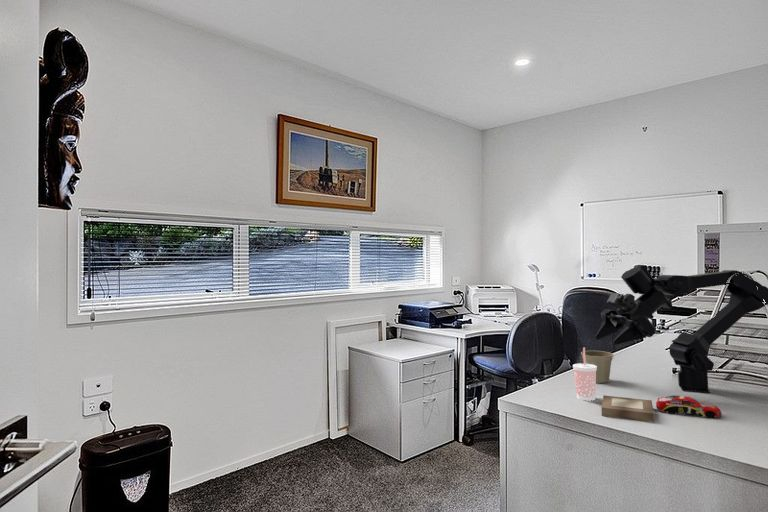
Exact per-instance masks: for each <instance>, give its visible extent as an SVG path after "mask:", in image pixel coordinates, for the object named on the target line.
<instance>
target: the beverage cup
mask: <svg viewBox="0 0 768 512" xmlns="http://www.w3.org/2000/svg"><path fill="white" fill-rule="evenodd" d="M585 351H586V347H585V346H584V347H582V352H583V356H582V359H583V358H584V359H583V363H580V362H579V363H574V364H572V368H573V373H574V382H575V383H574V384H575V391H576V399H577V400H579V399H581V400H580V401H583V400H586V401H585V402H593V400H594V401H595V400H596V384H597V383H596V370H597V366H596V365H592V364H586V361H585ZM591 400H592V401H591Z"/></svg>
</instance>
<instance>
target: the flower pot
mask: <svg viewBox="0 0 768 512" xmlns="http://www.w3.org/2000/svg"><path fill="white" fill-rule="evenodd" d="M580 354H581V356H582V359H583V360H584V358H583V351H581V352H580ZM614 356H615V354H614V353H612V352H609V351H602V350H585V361H586V364H592V365H596V366H597V370H596V384H605V383H609V382H610V374H611V366H612V361H613V357H614Z"/></svg>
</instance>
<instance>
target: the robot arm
mask: <svg viewBox="0 0 768 512" xmlns="http://www.w3.org/2000/svg"><path fill="white" fill-rule="evenodd" d="M735 273H739V275H737V276H734V277H733V278H732V279H731V280H730V283H726V282H727V280H728V278H729V277H730V276H731V275H733V274H735ZM621 279H622V280H623V281H624V283H625V284H626V285H627V287H628V288H629V289H630V291H631V292H632V293H633V294H635V295H636V294H638V295H639V297H637V298H636V296H635V295H633V294H631V293H625V294H622V293H619V292H611V294H610V295H609V297H608V299H607V300H606V303H607V304H609V305H612V306H613V307H615V308H616V310H614V309H606V308H605V309H603V310H602V311H601V312H600V316H601V319H602V322H601V324H600V327H599V329H598V330H597V332H596V333H595V335H594V338H595V339H596V340H601V339H603V338H605V337H608V336H610V335H613V334H615V333H617V332H619V330H621V329H622V328H623V329H622V330H621V332H620V333H619V334H618V335H617V336H615V338H614V339H613V341H612V343H613V345H614V346H615V345H616V346H617V345H620V344H623V343H624V344H625V343H628V342H631V341H636V340H641V339H646V338H652V337H653V336H654V335H655V334H656V332H657V331H656V330H657V328H656V327H655V326H654V324H653V323H652V322H651V321H650V320H652V319H654V318H655V317H654V314H655V313H656V312H657V311H658V310H660V308H663V309H664V308H665V309H672V308H673V303H672V301H673V299H672V298H667V296H668V295H669V296H681V295H684V294H688V293H690V292H691V291H693V290H696V289H704V288H710V287H711V288H712V287H716V286H717V287H718V286H725V285H726V284H729V286H728V288H727V289H726V290H727V292H728V293H730V296H729V301H728V303H727V304H726V305H725V306H723V308H721V309H720V310H719V311H718V312H717V313H716V314H715V315H716V316H715V317H714V318H712V317H711V318H709V320H708V321H706V322H705V323H704V324H703V325H702V326H700V328H698V329H696V331H695V332H694V333H686V332H681V333H680V334H679V335H678V336H677V337H676V338H675V339H673V340H671V344H670V346H669V348H668V349H669V356H671V358H672V359H673V362H674V364H675V365H676V366H679V370H678V371H677V380H678V381H677V382H678V383H677V385H678V387H679V388H680V389H681V391H686V392H687V391H688V392H697V393H706V394H707V393H710V389H709V376H708V375H709V374H708V373H709V372H710V371H713V369H714V367H715V366H714V365H715V363H714V362H713V361H712V360H711V359H710V358H709V357H708V355H709V351H710V346H711V345H712V344H713V343H714V342H716V341H717V340H718V339H719V338H720V337H721V336H723V335H724V333H725V332H727V331H728V330H729V329H730V328H731V327H733V326H734V325H735V324H736V323H737V322H739V321H740V320H741V319H742V318H743V317H744V316H745V315H746V314H749V313H752V312H756V311H759V310H760V309H763V308H764V307H766V306H767V305H768V287H767V286H765V285H762V283H760V282H759V281H756V280H754V279H753V278H750V277H748V276H746V275H745V274H744V273H742V272H741V271H738V270H737V269H736V270H735V269H734V270H733V269H732V270H731V269H729V270H728V269H727V270H726V269H724V270H721V271H715V272H709V273H700V274H693V275H680V274H679V275H677V274H676V275H675V274H674V275H673V274H660V275H658V276H657V277H653V276H652V275H651V273H650V272H649V271H648V269H647V268H646V266H645V265H644V264H638V265H637V266H635V267H632V268H629V270H626V271H625V272H624V273H623V274H622V275H621ZM756 286H757V287H758V290H757V287H756ZM666 295H667V296H666ZM763 299H764V300H765V302H766V303H765V305H766V306H765V305H764V304H763V303H762V302H764V301H763ZM617 312H618V313H617Z"/></svg>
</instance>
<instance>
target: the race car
mask: <svg viewBox="0 0 768 512" xmlns="http://www.w3.org/2000/svg"><path fill="white" fill-rule="evenodd" d="M655 404H656V405H655V408H656V409H657V410H658V411H660V412H662V413H668V414H669V415H682V416H683V415H684V416H694V417H702V418H705V417H706V418H707V419H713V420H714V419H715V418H720V417H721V416H722V411H721V409H720V407H718V406H717V405H713V404H712V403H711V404H710V403H708V402H703V401H698V399H697V400H696V399H695V398H692V397H689V396H686V395H667V396H662V397H657V401H656V402H655Z"/></svg>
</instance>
